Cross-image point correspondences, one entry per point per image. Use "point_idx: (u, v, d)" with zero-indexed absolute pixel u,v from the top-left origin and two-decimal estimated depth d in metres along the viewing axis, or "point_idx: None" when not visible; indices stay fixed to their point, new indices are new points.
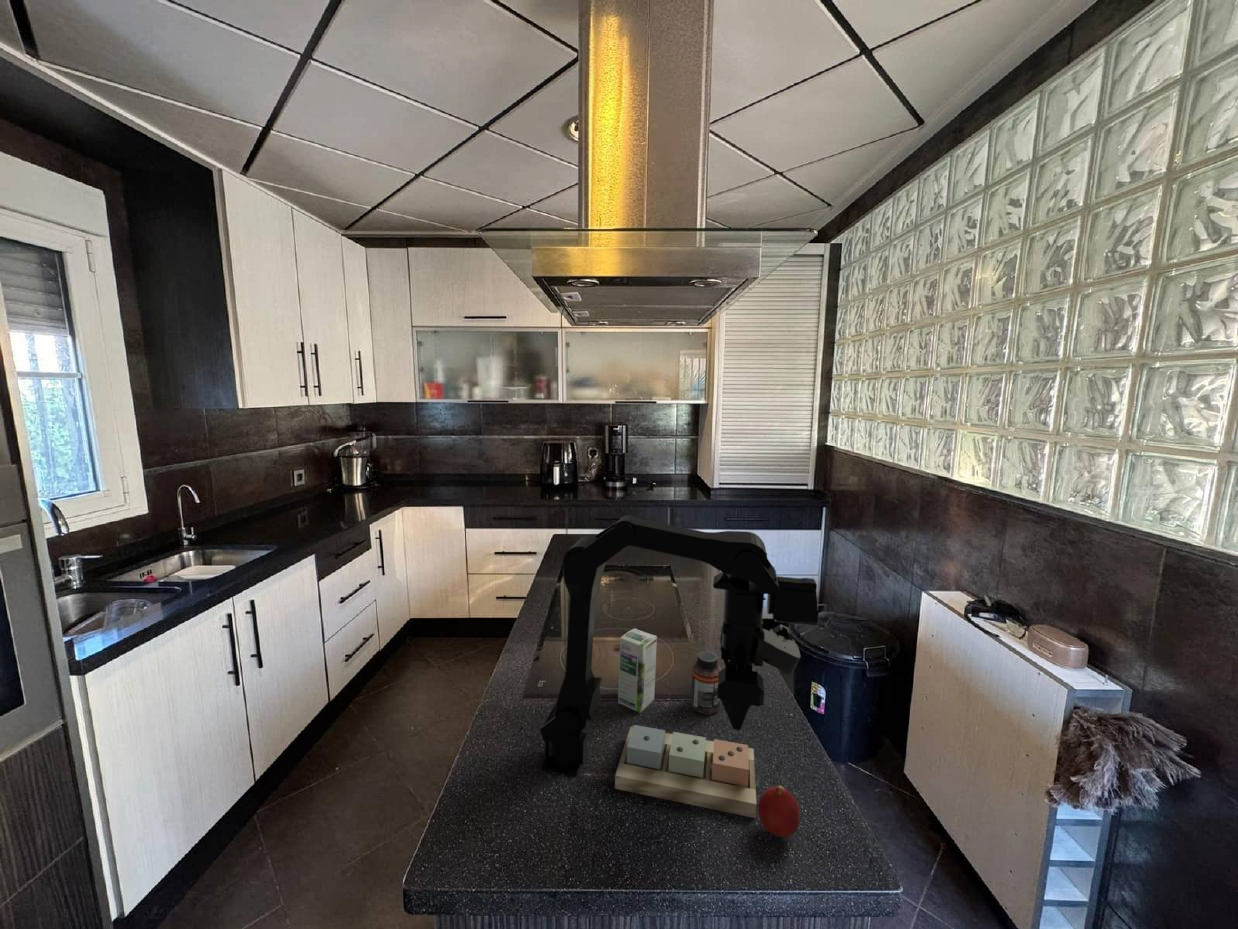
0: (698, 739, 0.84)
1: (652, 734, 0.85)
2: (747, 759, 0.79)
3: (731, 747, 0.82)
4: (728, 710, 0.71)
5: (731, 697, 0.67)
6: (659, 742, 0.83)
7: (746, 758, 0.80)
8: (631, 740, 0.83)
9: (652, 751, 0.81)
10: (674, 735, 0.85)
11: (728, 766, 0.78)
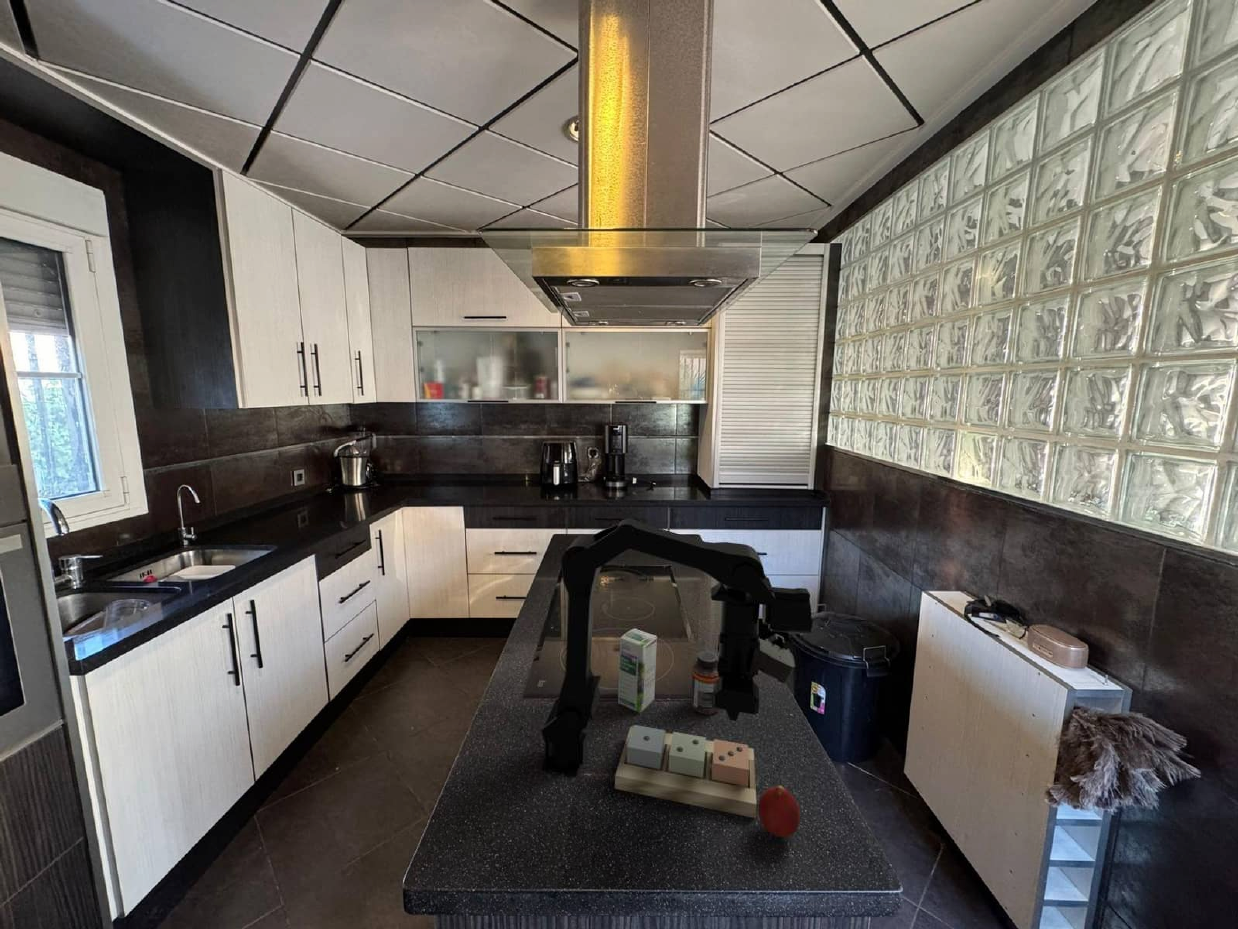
0: (698, 739, 0.84)
1: (652, 734, 0.85)
2: (747, 759, 0.79)
3: (731, 747, 0.82)
4: None
5: (727, 705, 0.70)
6: (659, 742, 0.83)
7: (746, 758, 0.80)
8: (631, 740, 0.83)
9: (652, 751, 0.81)
10: (674, 735, 0.85)
11: (728, 766, 0.78)
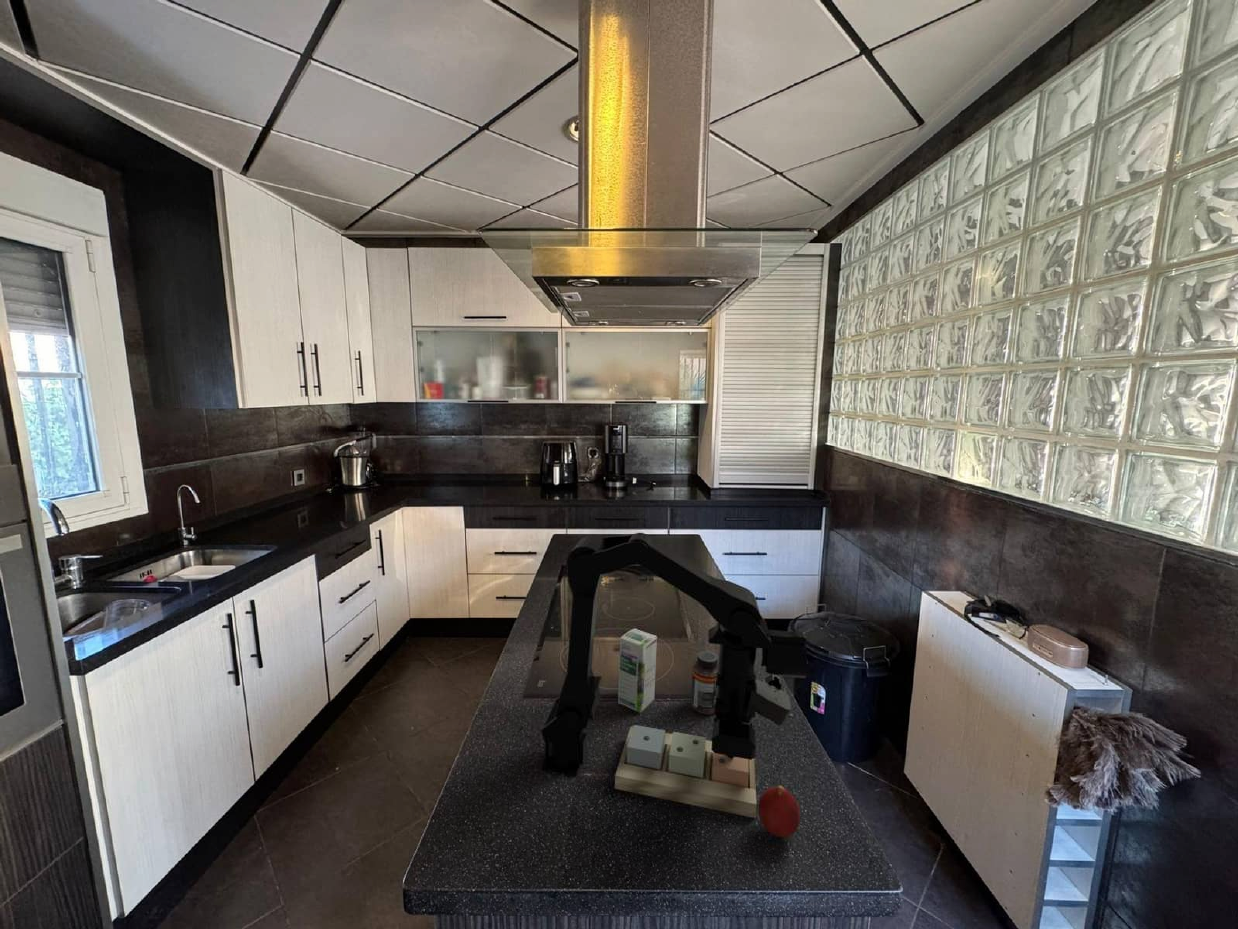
0: (698, 739, 0.84)
1: (652, 734, 0.85)
2: (747, 762, 0.80)
3: None
4: None
5: (724, 750, 0.71)
6: (659, 742, 0.83)
7: (746, 761, 0.80)
8: (631, 740, 0.83)
9: (652, 751, 0.81)
10: (674, 735, 0.85)
11: (728, 769, 0.78)
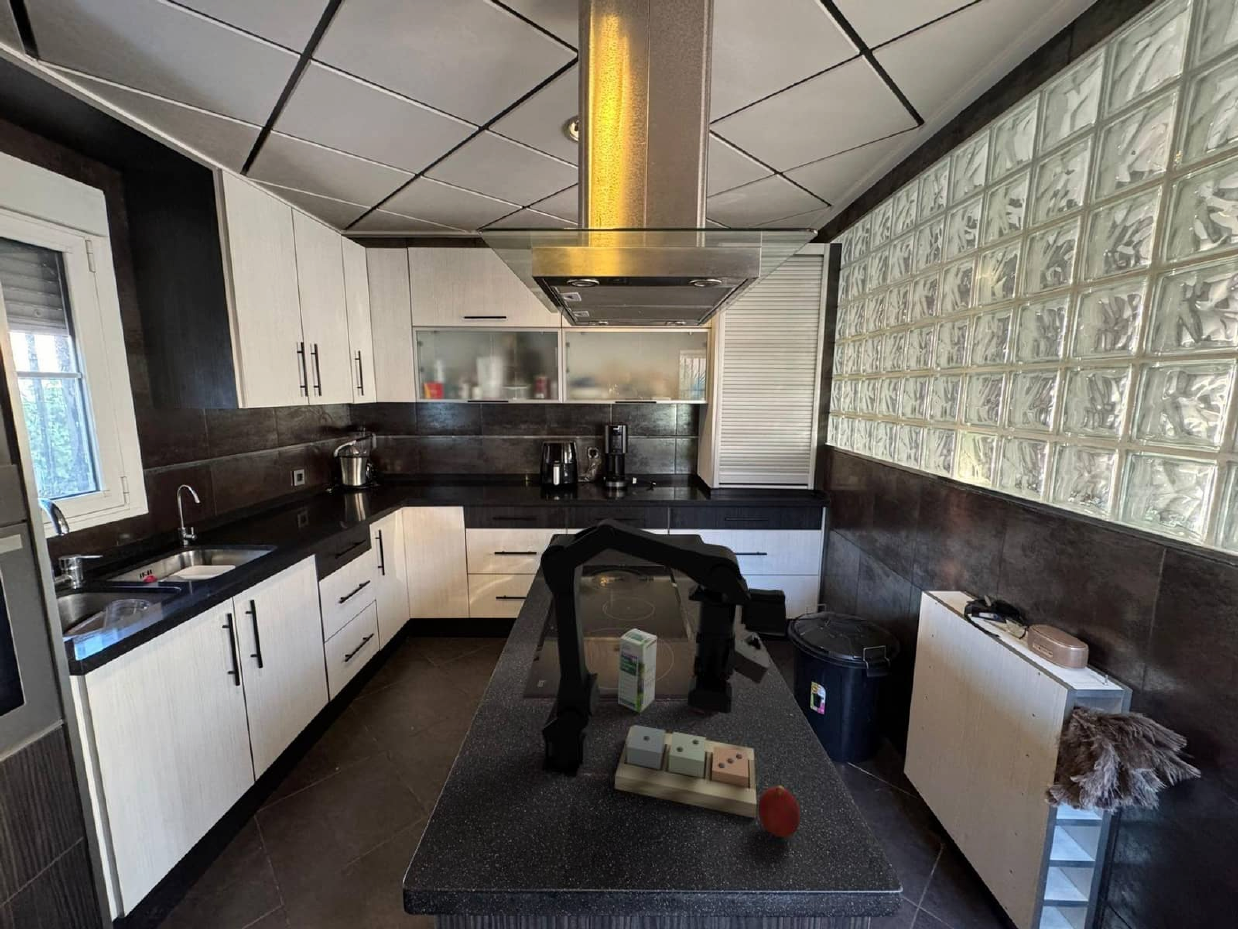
0: (698, 739, 0.84)
1: (652, 734, 0.85)
2: (746, 766, 0.80)
3: (731, 754, 0.82)
4: None
5: (700, 704, 0.70)
6: (659, 742, 0.83)
7: (745, 765, 0.80)
8: (631, 740, 0.83)
9: (652, 751, 0.81)
10: (674, 735, 0.85)
11: (728, 773, 0.78)
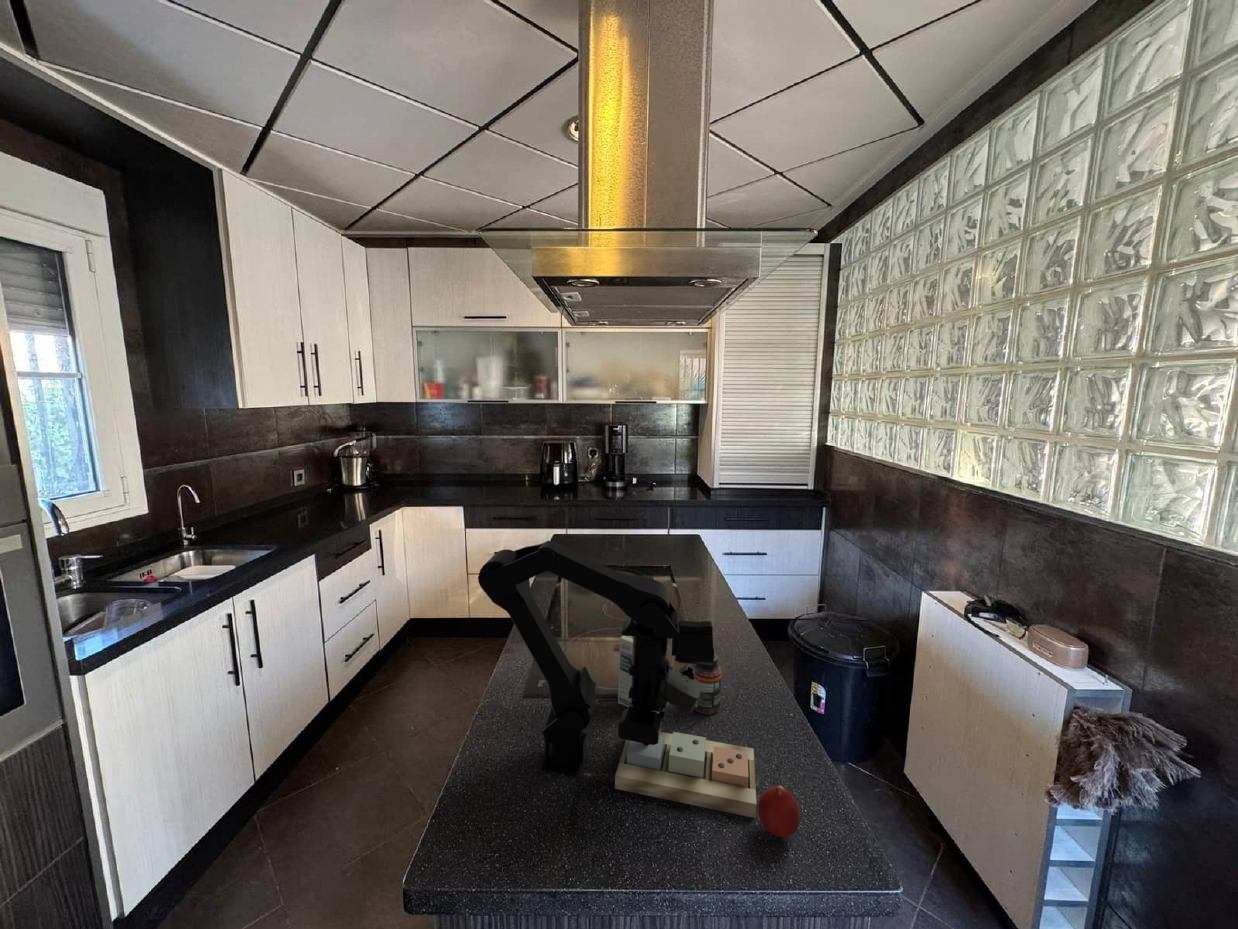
0: (698, 739, 0.84)
1: None
2: (746, 766, 0.80)
3: (731, 754, 0.82)
4: None
5: (629, 736, 0.74)
6: (659, 748, 0.83)
7: (745, 765, 0.80)
8: (631, 745, 0.83)
9: (652, 756, 0.81)
10: (674, 735, 0.85)
11: (728, 773, 0.78)
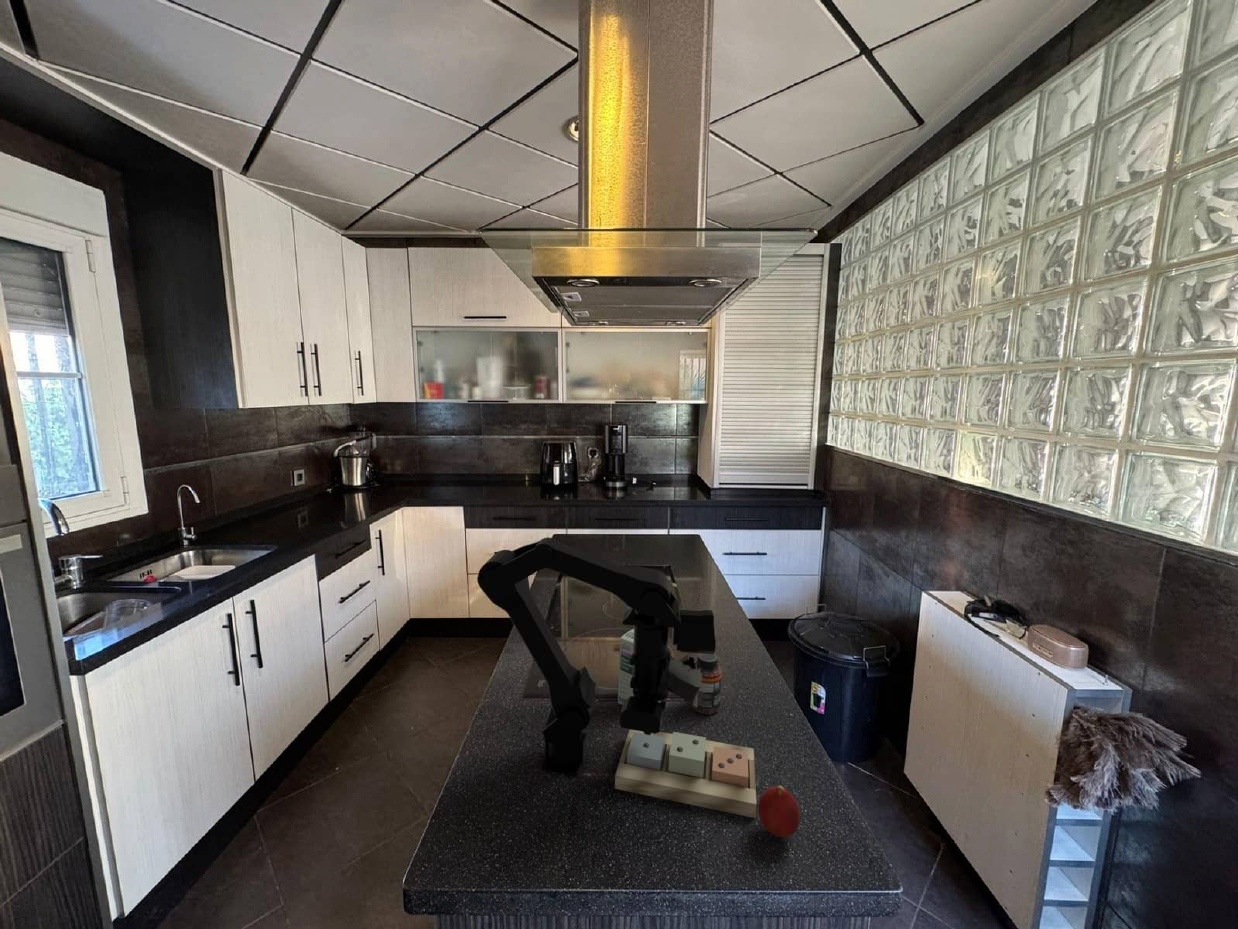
0: (698, 739, 0.84)
1: (652, 741, 0.85)
2: (746, 766, 0.80)
3: (731, 754, 0.82)
4: None
5: (631, 725, 0.74)
6: (659, 749, 0.83)
7: (745, 765, 0.80)
8: (631, 747, 0.83)
9: (652, 758, 0.81)
10: (674, 735, 0.85)
11: (728, 773, 0.78)
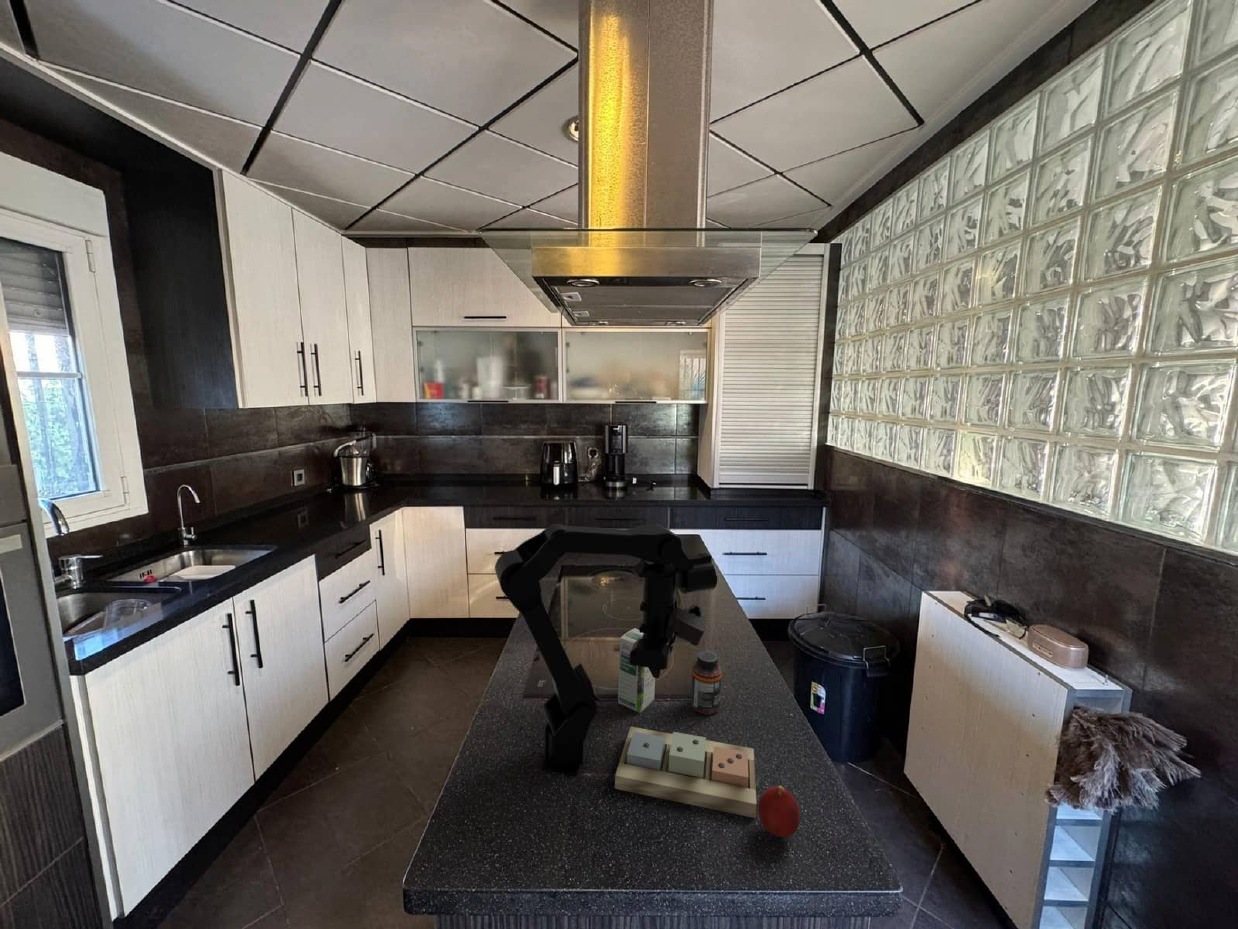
0: (698, 739, 0.84)
1: (652, 741, 0.85)
2: (746, 766, 0.80)
3: (731, 754, 0.82)
4: None
5: (640, 662, 0.80)
6: (659, 749, 0.83)
7: (745, 765, 0.80)
8: (631, 747, 0.83)
9: (652, 758, 0.81)
10: (674, 735, 0.85)
11: (728, 773, 0.78)
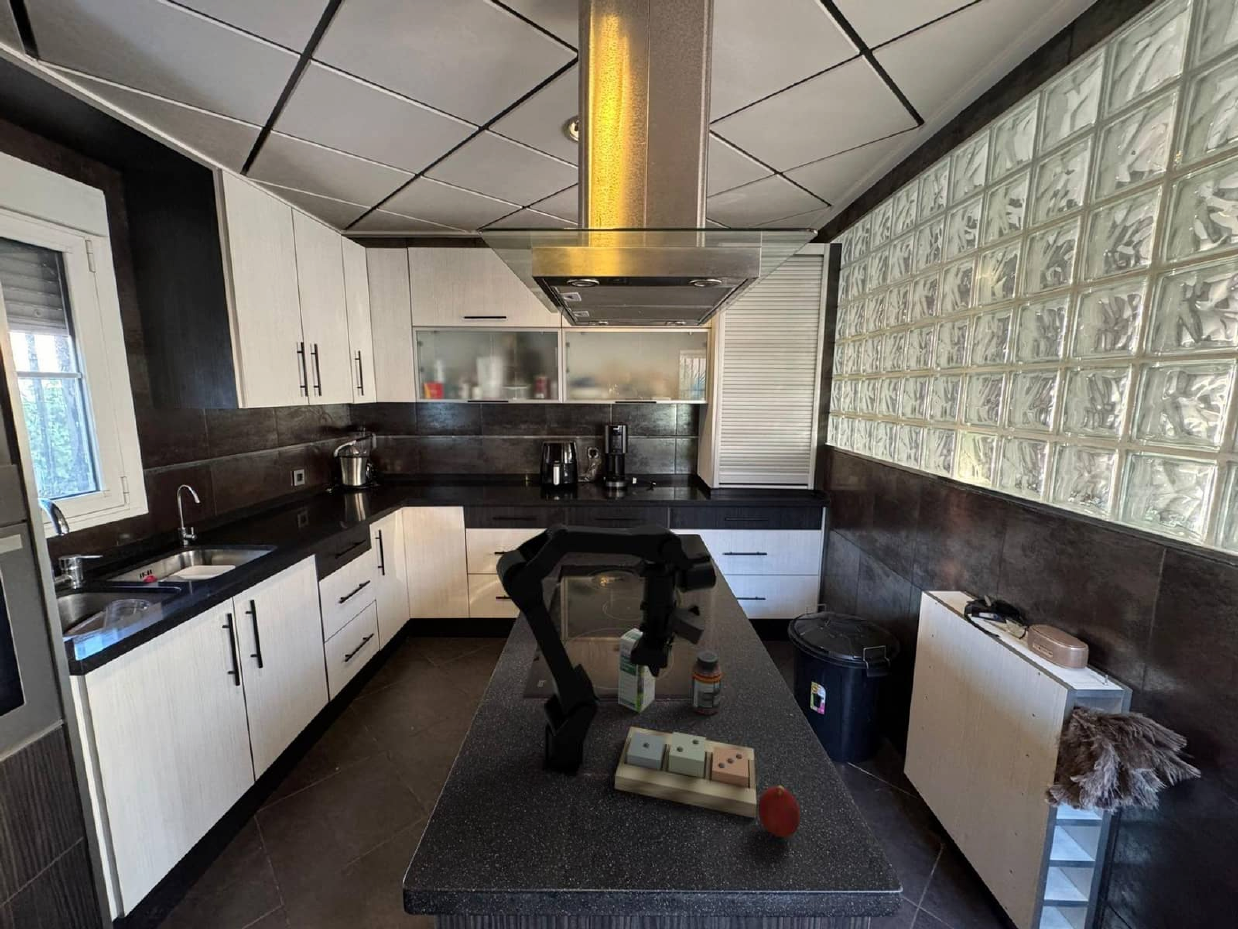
0: (698, 739, 0.84)
1: (652, 741, 0.85)
2: (746, 766, 0.80)
3: (731, 754, 0.82)
4: None
5: (641, 661, 0.80)
6: (659, 749, 0.83)
7: (745, 765, 0.80)
8: (631, 747, 0.83)
9: (652, 758, 0.81)
10: (674, 735, 0.85)
11: (728, 773, 0.78)
